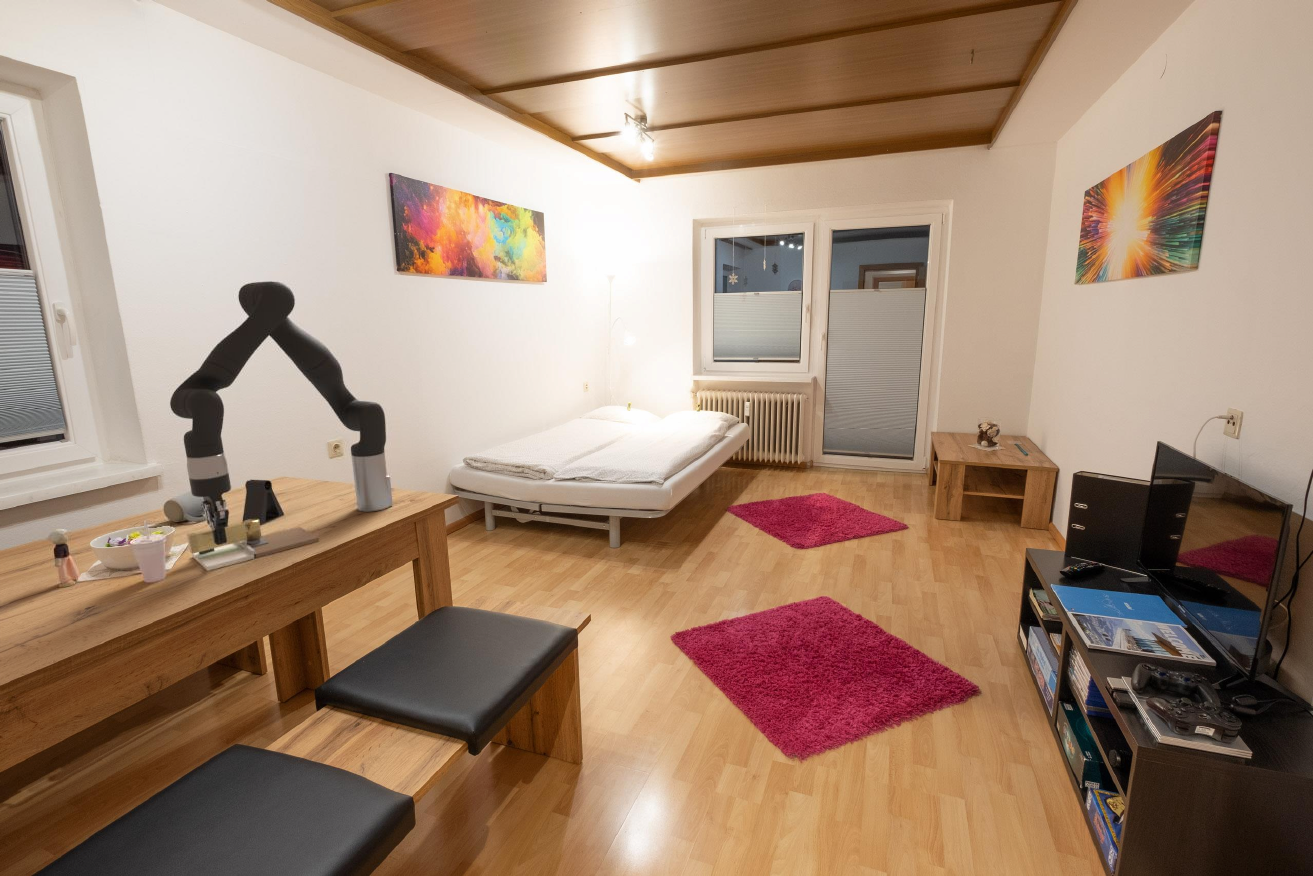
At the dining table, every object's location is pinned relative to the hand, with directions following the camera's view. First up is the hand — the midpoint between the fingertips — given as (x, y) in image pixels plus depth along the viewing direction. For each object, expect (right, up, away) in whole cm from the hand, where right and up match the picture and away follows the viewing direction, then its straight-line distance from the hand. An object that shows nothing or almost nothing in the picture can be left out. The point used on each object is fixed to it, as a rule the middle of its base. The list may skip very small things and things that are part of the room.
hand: (220, 543), depth 144 cm
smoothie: (-10, -7, -7) cm, 14 cm away
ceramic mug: (-33, +1, +34) cm, 48 cm away
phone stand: (-11, +1, +33) cm, 35 cm away
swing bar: (-3, -2, +7) cm, 8 cm away
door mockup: (+2, -3, +11) cm, 11 cm away
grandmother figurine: (-28, -8, -8) cm, 30 cm away
